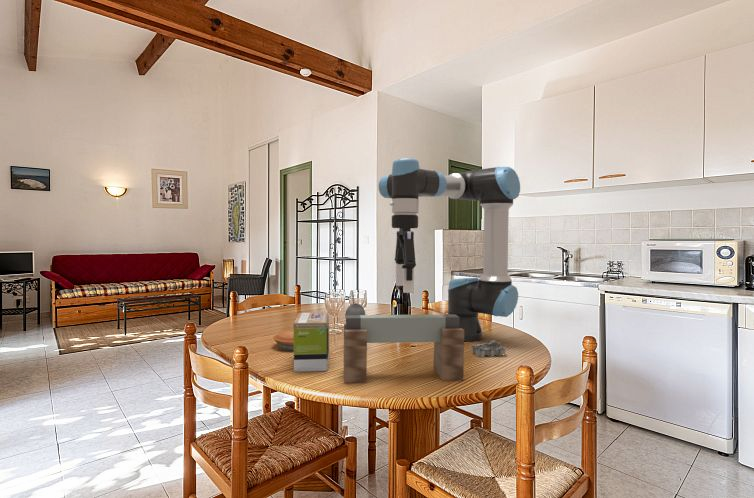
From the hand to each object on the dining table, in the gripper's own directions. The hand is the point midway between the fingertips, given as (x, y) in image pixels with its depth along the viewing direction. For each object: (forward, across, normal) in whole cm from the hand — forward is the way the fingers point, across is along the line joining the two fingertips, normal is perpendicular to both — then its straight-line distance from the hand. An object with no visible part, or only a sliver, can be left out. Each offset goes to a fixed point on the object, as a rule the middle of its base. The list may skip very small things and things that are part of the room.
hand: (404, 289), depth 118 cm
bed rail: (+15, +1, -1) cm, 15 cm away
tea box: (+25, -11, -26) cm, 38 cm away
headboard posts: (+25, +1, -1) cm, 25 cm away
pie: (+25, -31, -34) cm, 52 cm away
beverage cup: (+25, -28, -12) cm, 40 cm away
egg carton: (+25, -18, +32) cm, 45 cm away
